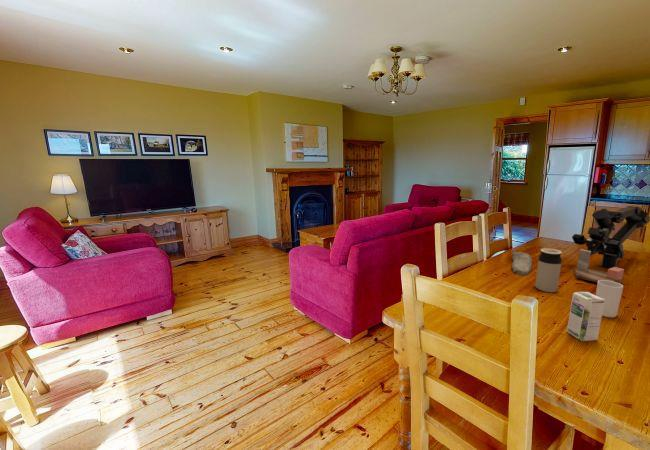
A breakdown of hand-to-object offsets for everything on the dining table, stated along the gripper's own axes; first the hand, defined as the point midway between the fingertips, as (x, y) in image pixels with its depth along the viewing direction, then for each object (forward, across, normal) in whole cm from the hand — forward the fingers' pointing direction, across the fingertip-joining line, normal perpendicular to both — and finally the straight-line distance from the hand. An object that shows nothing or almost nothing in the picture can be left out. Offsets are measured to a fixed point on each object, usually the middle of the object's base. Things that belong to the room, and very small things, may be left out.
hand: (588, 255), depth 144 cm
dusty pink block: (+6, +12, +4) cm, 14 cm away
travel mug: (+32, 0, -18) cm, 36 cm away
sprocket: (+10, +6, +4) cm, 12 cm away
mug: (+34, +22, -20) cm, 45 cm away
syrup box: (+52, +26, -38) cm, 70 cm away
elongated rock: (+16, -23, -2) cm, 29 cm away
